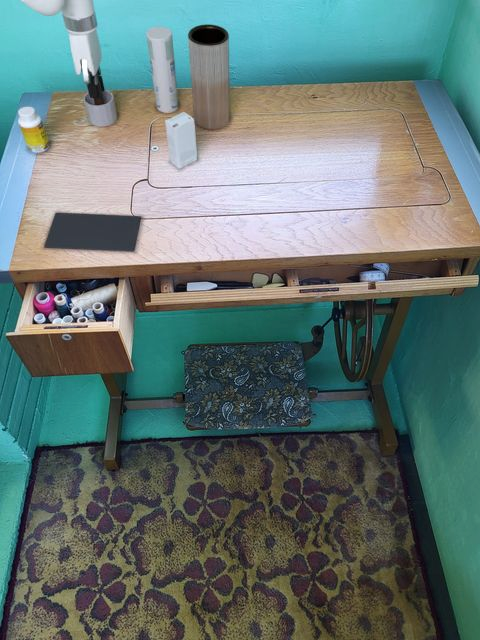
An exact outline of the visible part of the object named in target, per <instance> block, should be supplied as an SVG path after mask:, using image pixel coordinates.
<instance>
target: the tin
mask: <svg viewBox="0 0 480 640" xmlns="http://www.w3.org/2000/svg"><path fill="white" fill-rule="evenodd" d="M102 94H103V98H104V103H105V104H104V105H95V103H94V99H93V98H90V96H89V92H88V91H87V92H86V93H85V94H84V95H83V98H82V100H83V104H84V108H85V112H86V115H87V120H88V122H89V124H91V125H93V126H95V127H101V128H102V127H108V126H111V125H113V124H115V123H116V122H117V121H118V113H117V107H116V102H115V98H114V95H113V93H112V92H111V91H110V90H107V89H105V90H104V91H102Z"/></svg>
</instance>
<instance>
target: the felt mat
mask: <svg viewBox="0 0 480 640" xmlns="http://www.w3.org/2000/svg"><path fill="white" fill-rule="evenodd" d="M141 220H142V216H140V215H119V214H97V213H75V212H74V213H73V212H55V213H54V216H53V219H52V222H51V225H50V228H49V231H48V234H47V236H46V240H45V242H44V246H43V247H44V249H59V250H60V249H61V250H81V251H82V250H85V251H86V250H87V251H110V252H128V253H129V252H132V253H133V252H135V250H136V249H135V248H136V244H137V239H138V234H139V229H140V224H141Z"/></svg>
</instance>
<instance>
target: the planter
mask: <svg viewBox="0 0 480 640" xmlns="http://www.w3.org/2000/svg"><path fill="white" fill-rule="evenodd" d="M187 43H188V57H189V71H190V82H191V97H192V98H191V99H192V109H193V110H192V111H193V119H194V122H195V124H196V125H197V126H199V127H201V128H202V129H206V130H218V129H221V128H223V127H226V126H227V125H228V124H229V123H230V118H231V101H230V98H231V97H230V95H231V94H230V90H231V89H230V34H229V32H228V31H227V29H225V28H224V27H222V26H219V25H216V24H211V23H210V24H208V23H207V24H200V25H196V26H194V27H192V28H191V29H189V31H188V33H187Z"/></svg>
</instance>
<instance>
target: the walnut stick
mask: <svg viewBox="0 0 480 640" xmlns="http://www.w3.org/2000/svg"><path fill="white" fill-rule="evenodd" d="M89 76H90V75H89ZM96 76H97V81H98V83H99V84H100V80H99V76H100V75H99V76H98V73H96ZM90 77H92V78H93V76H90ZM93 79H94V78H93ZM100 88H101V85H100ZM101 93H102V89H101ZM93 99H94V103H95V105H104V104H105V103H104V98H103V94H102V99H95V98H93Z"/></svg>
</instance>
